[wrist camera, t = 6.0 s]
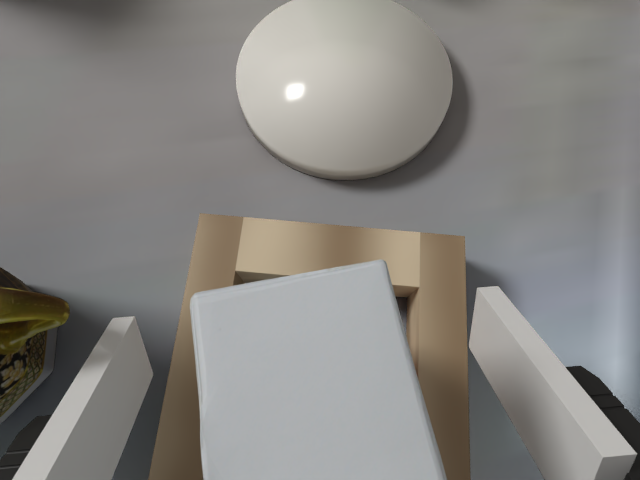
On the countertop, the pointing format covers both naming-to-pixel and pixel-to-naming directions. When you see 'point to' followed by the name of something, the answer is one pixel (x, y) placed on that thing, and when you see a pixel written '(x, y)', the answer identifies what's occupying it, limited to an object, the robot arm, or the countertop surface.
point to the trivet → (343, 86)
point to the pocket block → (312, 255)
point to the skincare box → (310, 380)
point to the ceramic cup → (26, 340)
